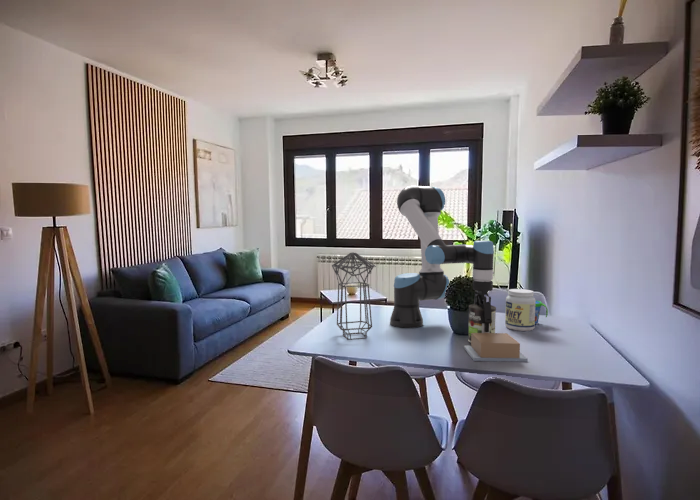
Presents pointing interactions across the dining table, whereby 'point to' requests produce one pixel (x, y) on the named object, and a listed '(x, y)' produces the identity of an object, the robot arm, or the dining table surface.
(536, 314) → the snack cup
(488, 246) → the robot arm
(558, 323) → the dining table surface
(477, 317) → the coffee can
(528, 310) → the supplement tub
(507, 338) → the tower base
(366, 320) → the geometric lantern
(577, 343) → the dining table surface
